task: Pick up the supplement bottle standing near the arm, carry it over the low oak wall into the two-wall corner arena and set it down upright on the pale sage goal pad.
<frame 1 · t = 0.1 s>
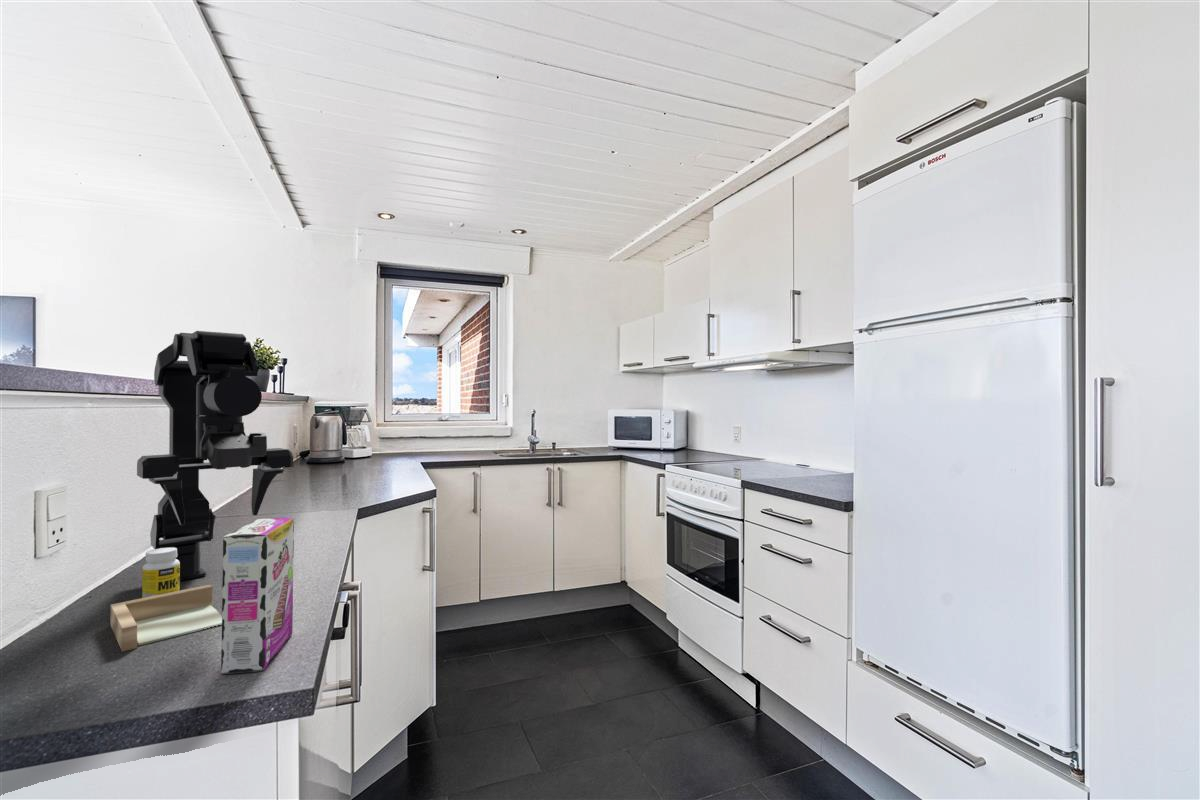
hand: (219, 519, 83), 15 cm above the counter, tool pointing down, fingers open, 9 cm apart
supplement bottle: (161, 603, 90), on the counter
candy bar box: (260, 655, 71), on the counter
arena: (177, 624, 81), on the counter
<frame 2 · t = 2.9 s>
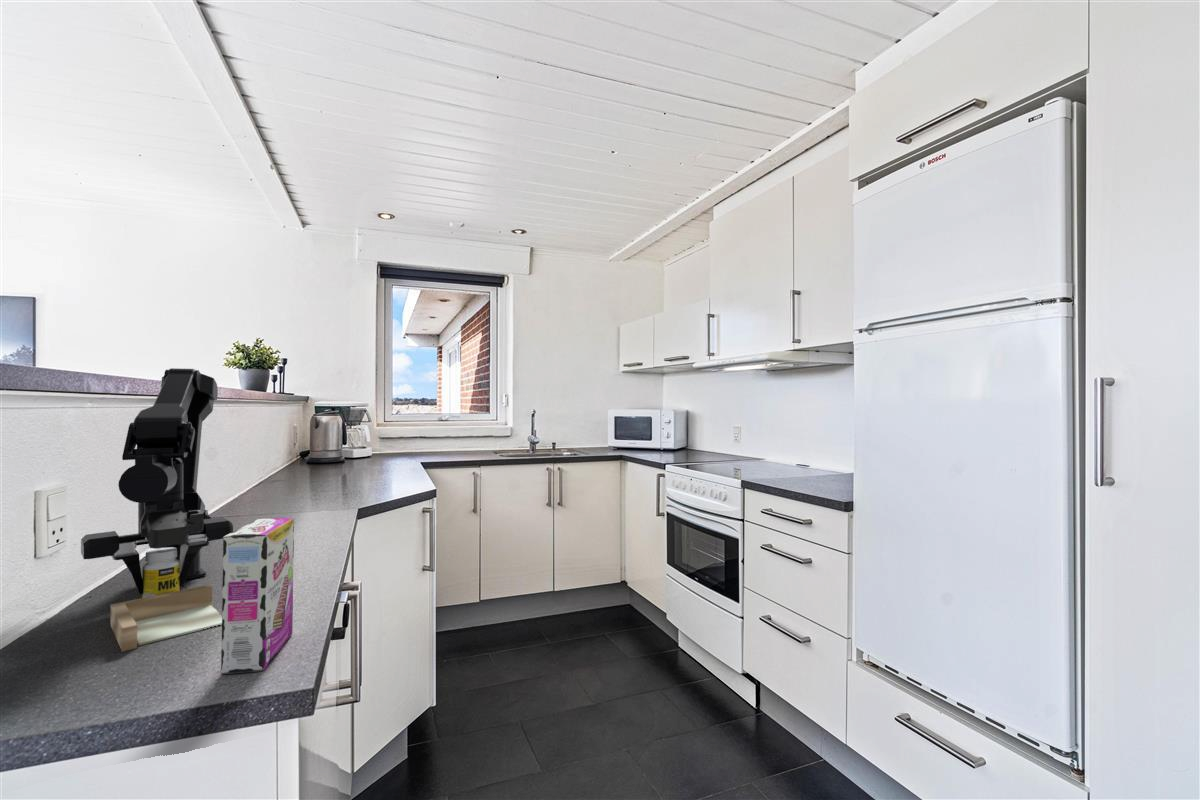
hand: (161, 589, 90), 2 cm above the counter, tool pointing down, fingers closed on supplement bottle, 5 cm apart
supplement bottle: (161, 603, 90), on the counter, touching gripper
everything else where it was.
when the fingers open (4 cm above the counter, at t = 6.7 s): supplement bottle drops 1 cm, resting on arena.
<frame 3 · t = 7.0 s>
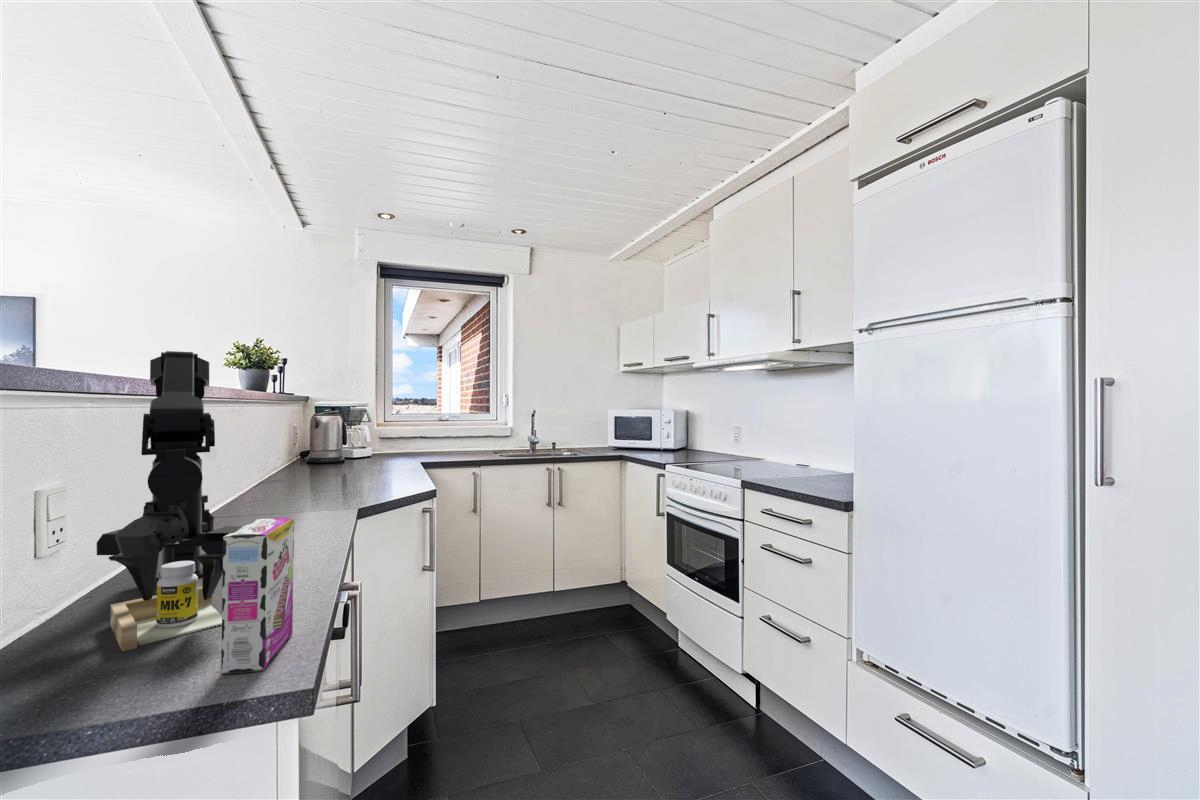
hand: (177, 599, 81), 4 cm above the counter, tool pointing down, fingers open, 8 cm apart
supplement bottle: (177, 623, 81), resting on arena
everything else where it was.
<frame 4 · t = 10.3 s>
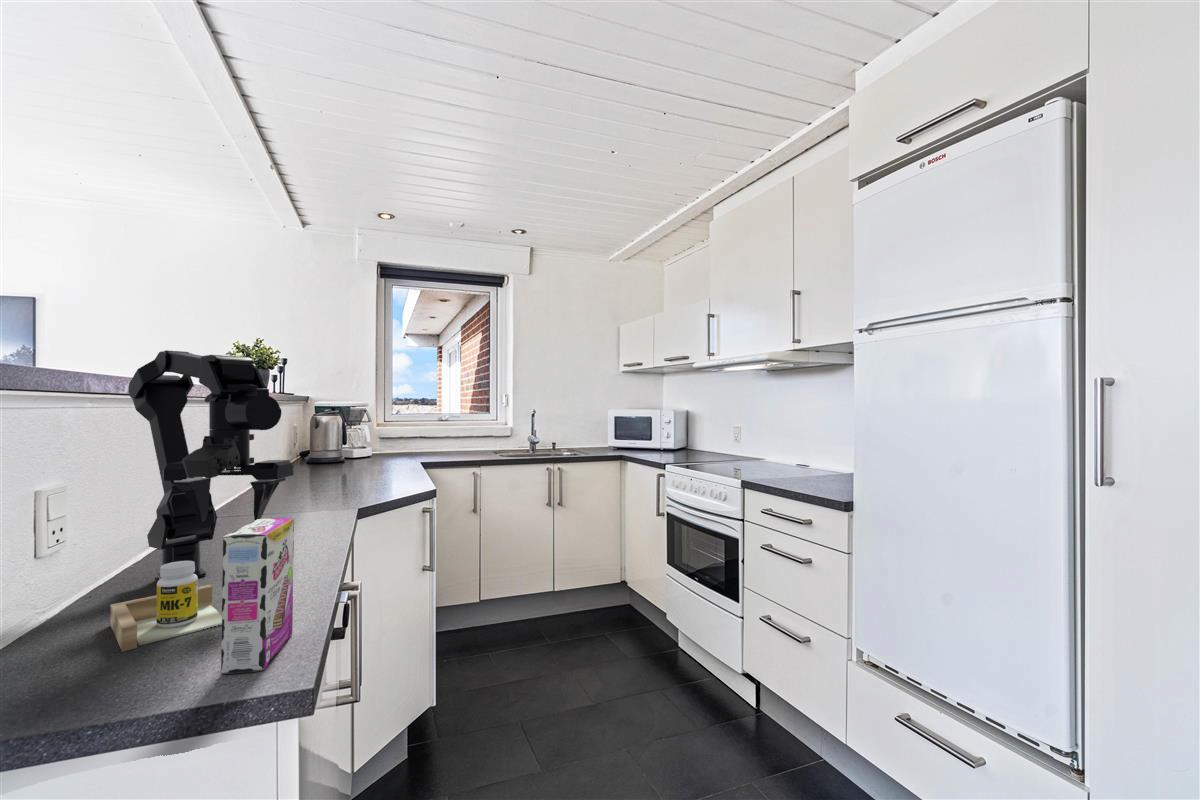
hand: (230, 520, 95), 12 cm above the counter, tool pointing down, fingers open, 9 cm apart
nothing on the counter moved.
at the end: supplement bottle inside the target area on the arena (0.1 cm from its centre), point 0.1 cm above the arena's base; supplement bottle tilted 0°; the gripper is holding nothing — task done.
